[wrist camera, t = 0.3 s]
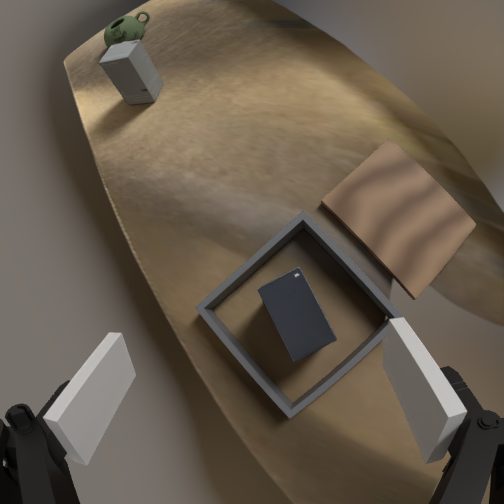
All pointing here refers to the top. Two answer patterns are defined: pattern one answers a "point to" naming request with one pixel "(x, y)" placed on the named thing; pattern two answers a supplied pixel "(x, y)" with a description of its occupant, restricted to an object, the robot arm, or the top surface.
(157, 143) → the top surface
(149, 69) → the skincare box
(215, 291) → the bin
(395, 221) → the walnut board
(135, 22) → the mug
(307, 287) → the small box
